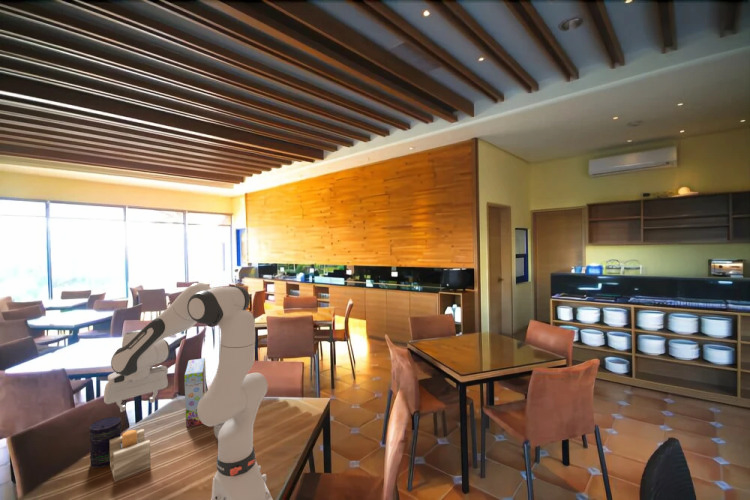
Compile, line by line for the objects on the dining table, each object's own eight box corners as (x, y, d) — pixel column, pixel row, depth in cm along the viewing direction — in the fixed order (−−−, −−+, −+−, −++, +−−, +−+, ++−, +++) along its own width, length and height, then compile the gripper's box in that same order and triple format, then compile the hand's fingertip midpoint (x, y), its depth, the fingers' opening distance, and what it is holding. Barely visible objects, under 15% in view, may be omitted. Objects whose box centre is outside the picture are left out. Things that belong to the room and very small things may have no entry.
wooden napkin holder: (150, 467, 126) (150, 441, 126) (114, 481, 119) (114, 454, 118) (143, 452, 136) (143, 428, 135) (109, 465, 128) (109, 439, 128)
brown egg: (135, 439, 130) (135, 428, 130) (138, 444, 127) (137, 433, 127) (121, 444, 127) (121, 433, 127) (123, 449, 124) (123, 438, 124)
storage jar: (96, 455, 134) (96, 419, 134) (125, 449, 137) (125, 414, 137) (85, 470, 125) (84, 432, 124) (116, 464, 128) (115, 426, 128)
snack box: (188, 407, 173) (188, 359, 173) (207, 404, 177) (206, 357, 176) (184, 428, 153) (183, 374, 153) (205, 424, 157) (204, 371, 157)
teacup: (229, 445, 140) (229, 426, 140) (207, 442, 142) (207, 424, 142) (248, 427, 154) (248, 410, 154) (228, 425, 156) (228, 408, 156)
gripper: (165, 362, 137) (166, 394, 137) (102, 376, 122) (103, 413, 122) (169, 365, 133) (170, 399, 133) (104, 381, 118) (106, 419, 118)
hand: (138, 406), depth 127 cm, fingers open, 8 cm apart
